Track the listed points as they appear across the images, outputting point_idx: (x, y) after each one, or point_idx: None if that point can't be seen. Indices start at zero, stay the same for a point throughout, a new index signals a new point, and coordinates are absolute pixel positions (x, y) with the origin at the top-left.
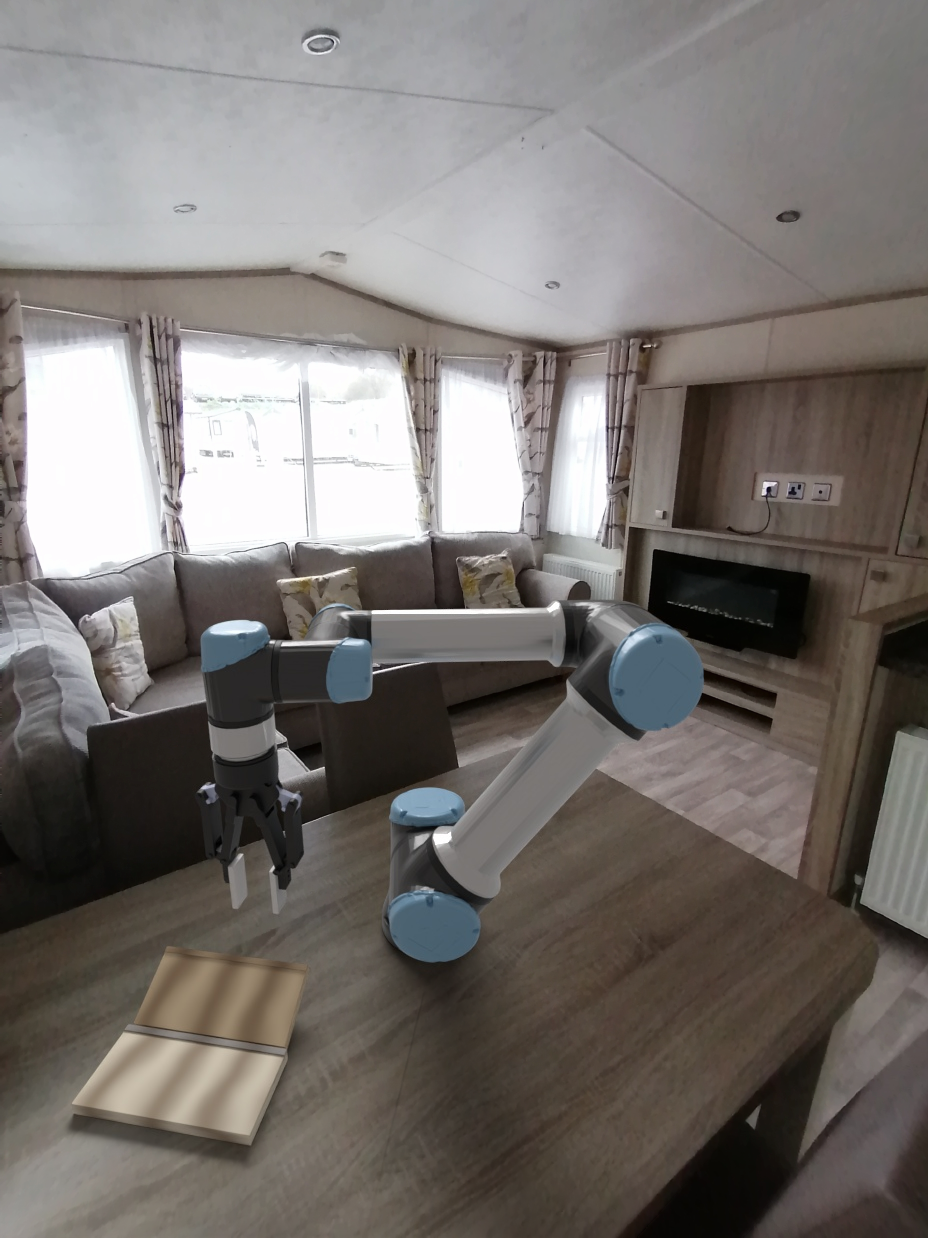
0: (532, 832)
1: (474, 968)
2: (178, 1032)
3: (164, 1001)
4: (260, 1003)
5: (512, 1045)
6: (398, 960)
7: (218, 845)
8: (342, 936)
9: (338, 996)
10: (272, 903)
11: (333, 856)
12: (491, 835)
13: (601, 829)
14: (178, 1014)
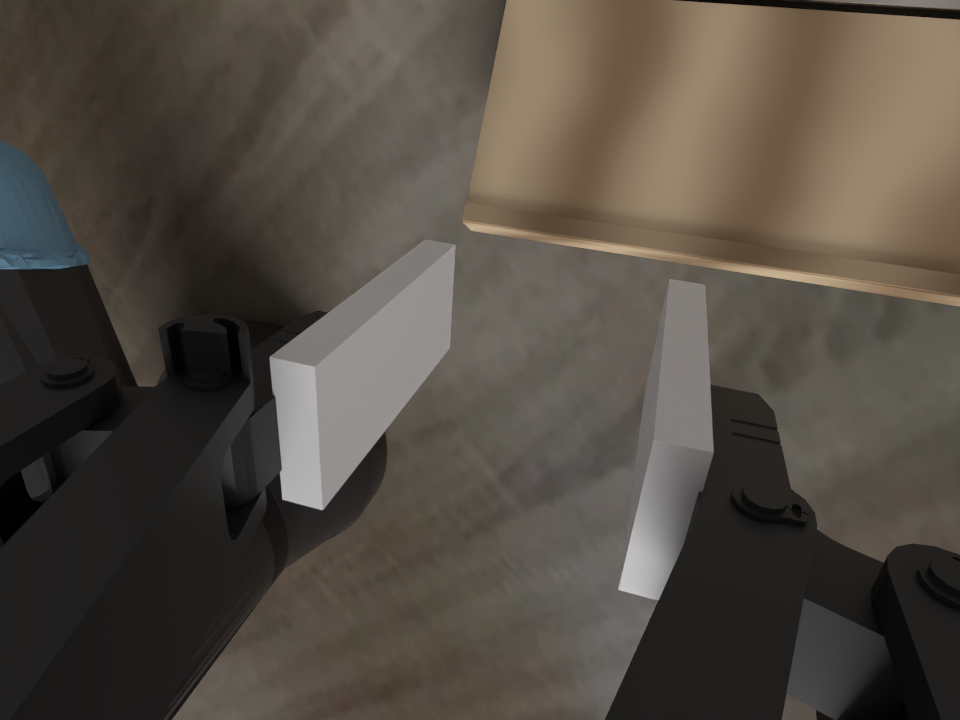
0: None
1: (147, 289)
2: (907, 3)
3: None
4: (609, 105)
5: (17, 84)
6: None
7: (875, 710)
8: (474, 397)
9: (430, 207)
10: (428, 265)
11: (570, 653)
12: None
13: None
14: (927, 65)
